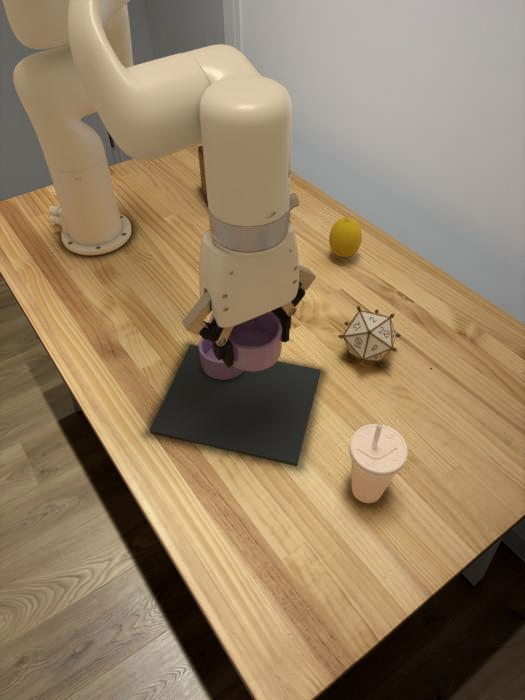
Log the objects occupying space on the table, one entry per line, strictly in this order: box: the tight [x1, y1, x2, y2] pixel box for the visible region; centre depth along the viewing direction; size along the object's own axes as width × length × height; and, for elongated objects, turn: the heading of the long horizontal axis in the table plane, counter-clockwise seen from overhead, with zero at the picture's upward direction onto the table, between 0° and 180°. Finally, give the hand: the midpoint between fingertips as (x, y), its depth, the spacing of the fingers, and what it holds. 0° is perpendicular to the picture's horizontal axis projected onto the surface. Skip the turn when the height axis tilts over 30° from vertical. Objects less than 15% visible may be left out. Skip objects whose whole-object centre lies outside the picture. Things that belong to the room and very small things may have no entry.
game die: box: [337, 304, 402, 367], centre depth 79 cm, size 9×8×10 cm
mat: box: [149, 343, 321, 467], centre depth 77 cm, size 20×16×1 cm
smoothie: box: [348, 422, 409, 504], centre depth 63 cm, size 6×6×14 cm
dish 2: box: [229, 311, 283, 371], centre depth 65 cm, size 7×7×4 cm
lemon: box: [328, 217, 363, 258], centre depth 95 cm, size 6×6×8 cm
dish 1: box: [198, 336, 244, 380], centre depth 80 cm, size 7×7×4 cm
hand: (252, 345), depth 65 cm, fingers closed on dish 2, 6 cm apart
